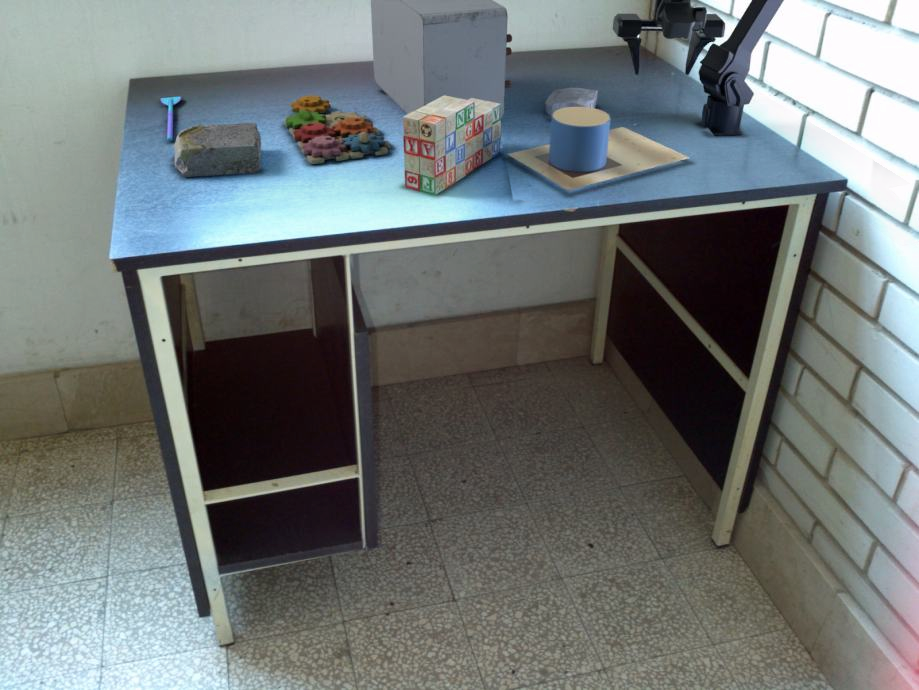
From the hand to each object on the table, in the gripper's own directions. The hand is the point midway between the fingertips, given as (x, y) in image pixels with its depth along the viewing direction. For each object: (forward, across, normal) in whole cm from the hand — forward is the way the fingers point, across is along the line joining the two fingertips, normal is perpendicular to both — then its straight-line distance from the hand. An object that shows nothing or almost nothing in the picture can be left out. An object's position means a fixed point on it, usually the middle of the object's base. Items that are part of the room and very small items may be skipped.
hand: (661, 74), depth 161 cm
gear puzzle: (+12, -61, +4) cm, 62 cm away
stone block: (+12, -14, +14) cm, 23 cm away
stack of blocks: (+12, -38, -15) cm, 43 cm away
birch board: (+12, -12, -11) cm, 21 cm away
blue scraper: (+12, -93, +10) cm, 94 cm away
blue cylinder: (+11, -16, -14) cm, 24 cm away
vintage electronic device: (+12, -40, +18) cm, 46 cm away
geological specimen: (+12, -79, -12) cm, 81 cm away
